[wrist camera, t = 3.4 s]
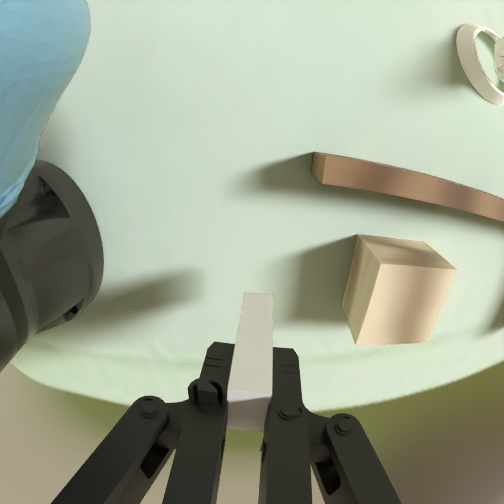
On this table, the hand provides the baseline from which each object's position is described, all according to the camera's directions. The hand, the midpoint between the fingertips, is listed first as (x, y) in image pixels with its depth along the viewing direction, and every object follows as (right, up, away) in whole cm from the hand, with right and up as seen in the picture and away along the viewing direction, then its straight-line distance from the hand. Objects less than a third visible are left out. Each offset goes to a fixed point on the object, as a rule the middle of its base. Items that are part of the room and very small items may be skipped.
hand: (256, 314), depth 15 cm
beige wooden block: (+10, +2, +5) cm, 12 cm away
